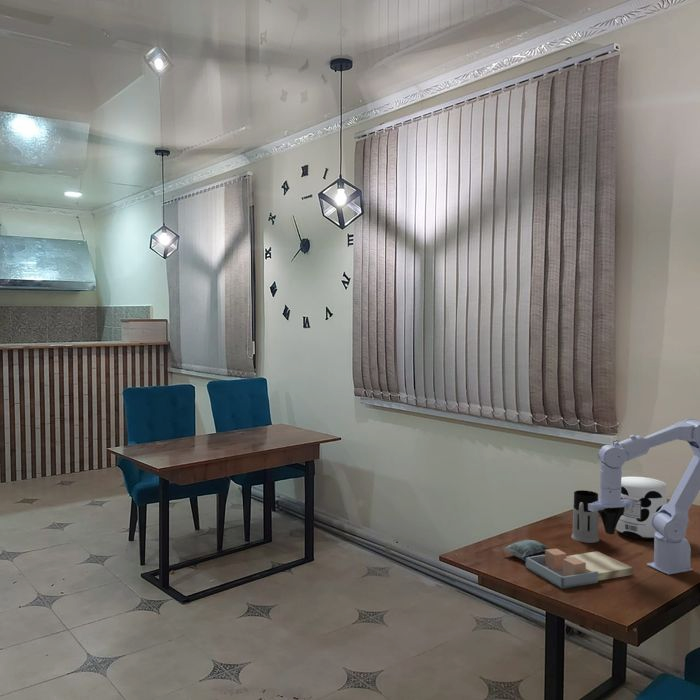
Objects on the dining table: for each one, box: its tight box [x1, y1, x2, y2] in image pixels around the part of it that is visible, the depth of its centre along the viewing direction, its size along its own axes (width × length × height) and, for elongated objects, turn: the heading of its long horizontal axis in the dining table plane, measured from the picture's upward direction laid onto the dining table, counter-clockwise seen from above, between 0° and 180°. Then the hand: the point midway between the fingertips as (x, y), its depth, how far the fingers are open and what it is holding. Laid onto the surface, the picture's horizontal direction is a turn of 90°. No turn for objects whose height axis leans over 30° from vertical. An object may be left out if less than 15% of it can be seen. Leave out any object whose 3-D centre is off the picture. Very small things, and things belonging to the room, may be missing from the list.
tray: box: [525, 555, 599, 590], centre depth 182 cm, size 12×16×3 cm
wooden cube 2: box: [563, 557, 586, 576], centre depth 179 cm, size 4×4×4 cm
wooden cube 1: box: [545, 548, 567, 571], centre depth 186 cm, size 4×4×4 cm
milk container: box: [615, 476, 668, 540], centre depth 216 cm, size 17×17×18 cm
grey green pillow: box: [502, 539, 550, 562], centre depth 196 cm, size 9×12×5 cm
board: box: [566, 550, 634, 582], centre depth 186 cm, size 13×14×2 cm
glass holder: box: [570, 489, 600, 544], centre depth 210 cm, size 9×14×15 cm, turn 149°
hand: (609, 533), depth 187 cm, fingers closed
